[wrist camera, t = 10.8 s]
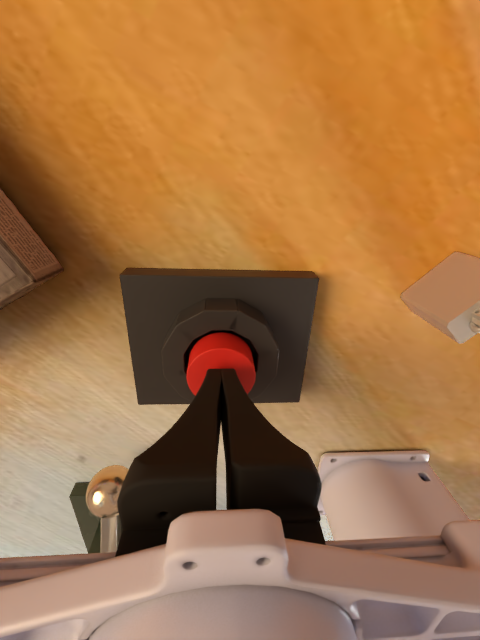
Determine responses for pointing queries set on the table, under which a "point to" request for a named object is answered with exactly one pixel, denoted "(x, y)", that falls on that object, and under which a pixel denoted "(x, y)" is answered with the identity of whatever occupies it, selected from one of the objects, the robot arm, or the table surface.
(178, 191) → the table surface
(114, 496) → the lever
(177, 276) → the button box
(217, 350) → the button
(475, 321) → the lighter
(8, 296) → the box
